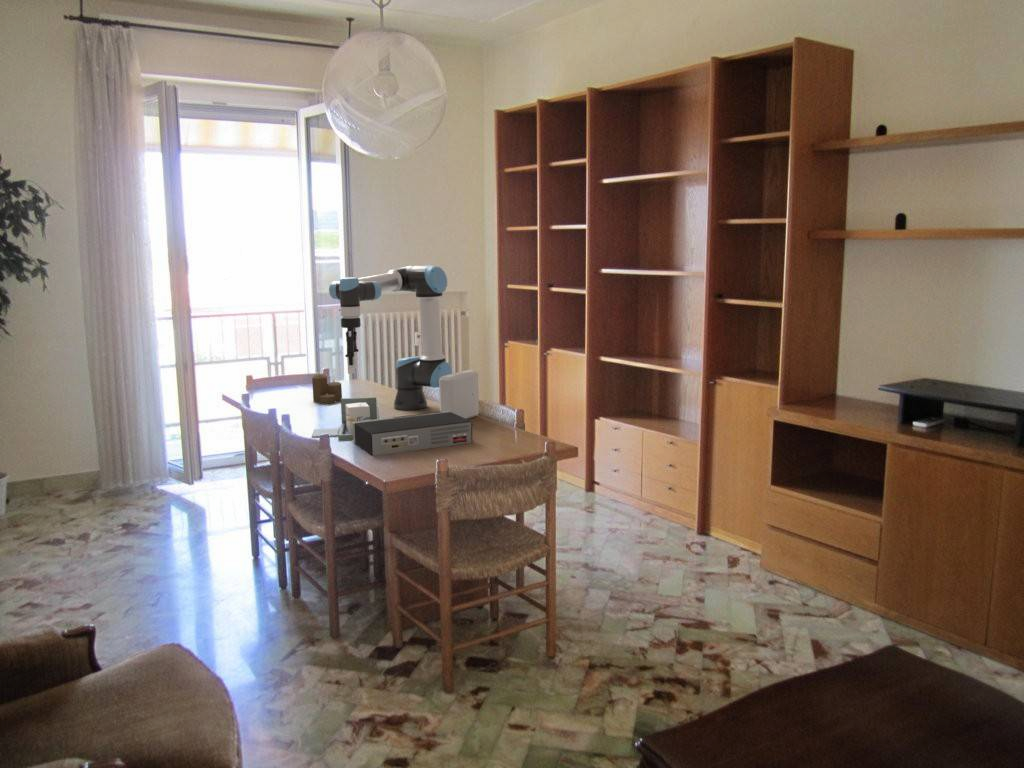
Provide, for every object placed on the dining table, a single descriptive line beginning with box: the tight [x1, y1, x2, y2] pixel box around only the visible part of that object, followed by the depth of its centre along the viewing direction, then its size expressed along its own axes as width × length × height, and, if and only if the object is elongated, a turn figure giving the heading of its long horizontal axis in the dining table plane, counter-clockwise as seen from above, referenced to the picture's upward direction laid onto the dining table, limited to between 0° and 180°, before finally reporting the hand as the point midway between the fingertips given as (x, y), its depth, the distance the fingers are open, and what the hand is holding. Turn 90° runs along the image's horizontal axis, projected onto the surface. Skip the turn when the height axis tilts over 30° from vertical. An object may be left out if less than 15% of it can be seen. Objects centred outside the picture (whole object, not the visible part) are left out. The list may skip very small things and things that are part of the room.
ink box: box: [345, 402, 370, 434], centre depth 333 cm, size 9×8×12 cm
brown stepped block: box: [311, 370, 343, 405], centre depth 399 cm, size 14×14×15 cm
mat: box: [311, 427, 340, 438], centre depth 334 cm, size 10×12×1 cm
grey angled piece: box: [337, 396, 380, 441], centre depth 334 cm, size 16×24×12 cm, turn 8°
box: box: [352, 411, 473, 457], centre depth 318 cm, size 40×25×9 cm, turn 118°
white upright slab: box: [438, 369, 480, 420], centre depth 355 cm, size 21×8×20 cm, turn 149°
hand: (352, 370), depth 331 cm, fingers open, 13 cm apart
